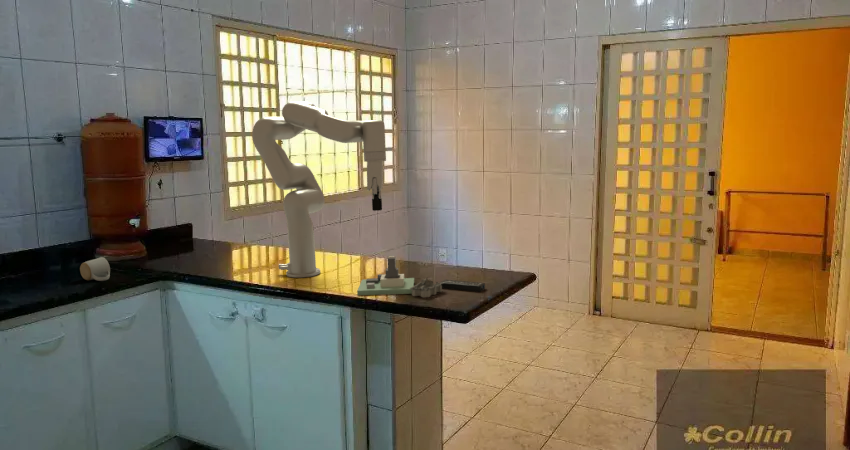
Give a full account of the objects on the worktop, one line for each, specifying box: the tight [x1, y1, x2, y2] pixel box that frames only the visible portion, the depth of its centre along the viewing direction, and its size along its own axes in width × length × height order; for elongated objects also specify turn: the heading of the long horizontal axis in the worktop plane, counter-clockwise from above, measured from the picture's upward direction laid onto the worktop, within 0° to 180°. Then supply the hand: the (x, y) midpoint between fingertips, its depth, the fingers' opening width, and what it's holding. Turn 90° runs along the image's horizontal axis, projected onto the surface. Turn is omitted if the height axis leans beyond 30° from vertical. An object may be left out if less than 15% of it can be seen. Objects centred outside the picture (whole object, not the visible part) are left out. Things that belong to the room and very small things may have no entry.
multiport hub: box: [440, 279, 486, 293], centre depth 205 cm, size 4×14×2 cm, turn 63°
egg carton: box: [410, 277, 444, 298], centre depth 201 cm, size 11×8×4 cm
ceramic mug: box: [79, 256, 111, 282], centre depth 236 cm, size 11×8×8 cm
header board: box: [356, 273, 415, 296], centre depth 208 cm, size 18×15×4 cm
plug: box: [385, 255, 400, 278], centre depth 208 cm, size 4×3×9 cm
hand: (377, 210), depth 215 cm, fingers closed
